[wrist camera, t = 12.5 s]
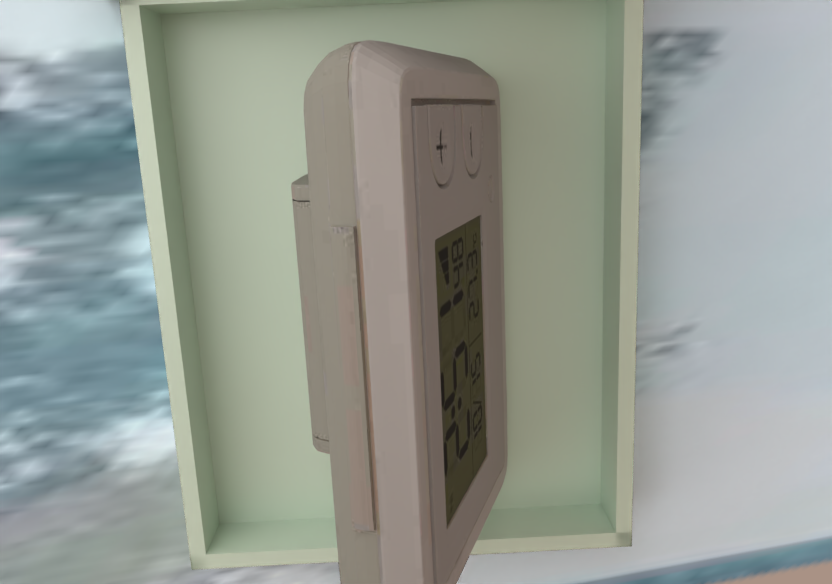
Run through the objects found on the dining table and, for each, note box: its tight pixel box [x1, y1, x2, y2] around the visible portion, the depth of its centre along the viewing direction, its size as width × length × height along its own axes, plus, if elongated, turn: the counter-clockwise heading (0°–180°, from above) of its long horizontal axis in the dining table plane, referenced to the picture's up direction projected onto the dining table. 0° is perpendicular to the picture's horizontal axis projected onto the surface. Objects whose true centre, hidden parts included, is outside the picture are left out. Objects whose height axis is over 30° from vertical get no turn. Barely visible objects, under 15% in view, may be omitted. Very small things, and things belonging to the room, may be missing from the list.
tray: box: [119, 0, 643, 570], centre depth 27 cm, size 17×21×3 cm
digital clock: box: [291, 40, 508, 584], centre depth 23 cm, size 16×9×11 cm, turn 171°
